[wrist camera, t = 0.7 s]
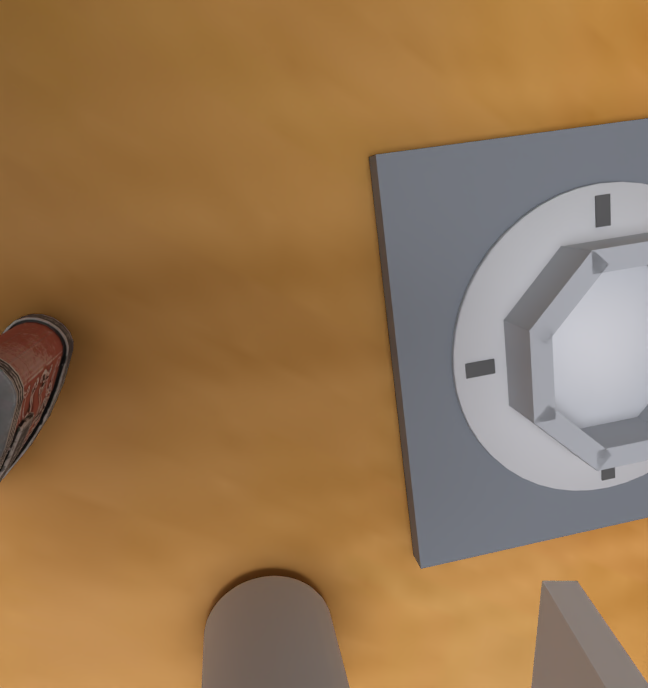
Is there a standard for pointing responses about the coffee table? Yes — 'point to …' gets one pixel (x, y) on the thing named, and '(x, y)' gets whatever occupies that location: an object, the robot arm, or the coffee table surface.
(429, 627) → the coffee table surface
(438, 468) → the board
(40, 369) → the brown piece
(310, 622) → the beverage can
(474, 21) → the coffee table surface
